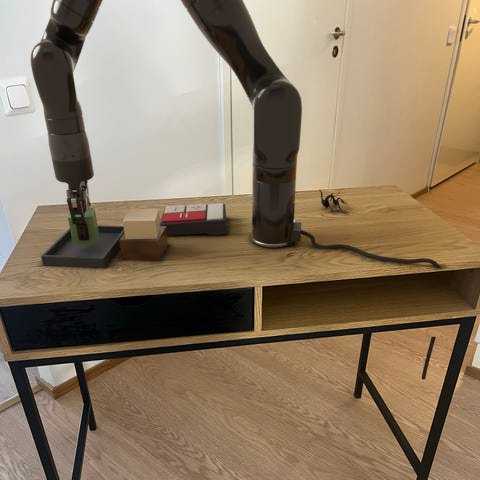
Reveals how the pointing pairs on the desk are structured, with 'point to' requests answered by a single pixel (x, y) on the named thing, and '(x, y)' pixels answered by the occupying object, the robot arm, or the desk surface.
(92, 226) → the green block
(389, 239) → the desk surface
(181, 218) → the calculator
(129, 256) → the walnut block
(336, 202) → the creature
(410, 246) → the desk surface
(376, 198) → the desk surface
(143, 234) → the cream block
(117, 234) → the tray
